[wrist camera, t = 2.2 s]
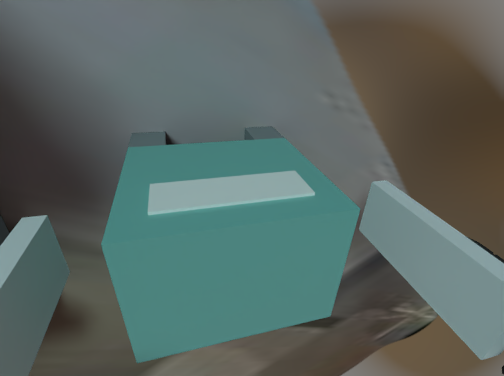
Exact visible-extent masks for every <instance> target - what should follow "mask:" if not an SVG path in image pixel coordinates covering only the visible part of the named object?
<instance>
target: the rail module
mask: <svg viewBox="0 0 504 376" xmlns="http://www.w3.org/2000/svg"><path fill="white" fill-rule="evenodd" d="M359 213H360V208H359V207H358V206H357V205H356V204H355V203H354V202H353V201H351V200H350V199H349V198H348V197H347V196H346V195H345V194H344V193H343V192H342V191H341V190H340V189H339V188H338V187H336V186H335V185H334V184H333V183H332V182H331V181H330V180H329V179H328V178H327V177H326V176H325V175H324V174H323V173H321V172H320V171H319V170H318V169H317V168H316V167H315V166H314V165H313V164H312V163H311V162H310V161H309V160H308V159H306V158H305V157H304V156H303V155H302V154H301V153H300V152H299V151H298V150H297V149H296V148H295V147H294V146H293V145H291V144H290V143H289V142H288V141H287V140H286V139H285V138H284V137H283V136H282V135H281V134H280V133H279V132H277V131H276V130H275V129H274V128H273V127H251V128H245V140H241V141H225V142H208V143H192V144H175V145H167V143H166V135H165V132H149V133H132V135H131V139H130V143H129V146H128V150H127V153H126V157H125V161H124V164H123V168H122V172H121V175H120V179H119V182H118V186H117V190H116V193H115V197H114V200H113V204H112V208H111V211H110V215H109V218H108V222H107V226H106V229H105V233H104V237H103V240H102V244H101V246H102V250H103V253H104V256H105V259H106V263H107V266H108V269H109V273H110V276H111V279H112V282H113V286H114V289H115V292H116V296H117V299H118V302H119V306H120V309H121V312H122V315H123V319H124V322H125V325H126V329H127V332H128V335H129V338H130V342H131V345H132V348H133V352H134V355H135V358H136V361H137V363H140V362H145V361H149V360H153V359H157V358H161V357H165V356H169V355H173V354H177V353H181V352H186V351H190V350H194V349H198V348H202V347H206V346H210V345H214V344H218V343H223V342H227V341H231V340H235V339H239V338H243V337H247V336H251V335H255V334H260V333H264V332H268V331H272V330H276V329H280V328H284V327H288V326H292V325H296V324H301V323H305V322H309V321H313V320H317V319H321V318H325V317H329V316H331V312H332V309H333V305H334V302H335V298H336V294H337V291H338V287H339V284H340V280H341V277H342V273H343V270H344V266H345V262H346V259H347V255H348V252H349V248H350V245H351V241H352V237H353V234H354V230H355V227H356V223H357V220H358V216H359Z"/></svg>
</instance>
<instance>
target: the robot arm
mask: <svg viewBox="0 0 504 376" xmlns="http://www.w3.org/2000/svg"><path fill="white" fill-rule="evenodd" d="M359 230H360V231H361V233H362V234H363V235H364V236H365V237H366V238H367V239H368V240H369V241H370V242H371V243H372V244H373V245H374V246H375V247H376V249H377V250H378V251H379V252H380V253H381V254H382V255H383V256H384V257H385V258H386V259H387V260H388V261H389V262H390V263H391V265H392V266H393V267H394V268H395V269H396V270H397V271H398V272H399V273H400V274H401V275H402V276H403V277H404V278H405V279H406V281H407V282H408V283H409V284H410V285H411V286H412V287H413V288H414V289H415V290H416V291H417V292H418V293H419V294H420V295H421V296H422V298H423V299H424V300H425V301H426V302H427V303H428V304H429V305H430V306H431V307H432V308H433V309H434V310H435V311H436V312H437V314H438V315H439V316H440V317H441V318H442V319H443V320H444V321H445V322H446V323H447V324H448V325H449V326H450V327H451V328H452V330H454V332H455V333H456V334H457V335H458V336H459V337H460V338H461V339H462V340H463V341H464V342H465V343H466V344H467V346H468V347H469V348H470V349H471V350H472V351H473V352H474V353H475V354H476V355H477V356H478V357H479V358H480V359H481V360H483V359H487V358H490V357H493V356H496V355H499V354H501V352H502V351H503V350H504V260H503V259H502V258H500V257H499V256H497V255H494V254H493V252H492V251H490V250H489V249H487V248H486V247H485V246H483V245H482V244H480V243H479V242H477V241H474V240H472V239H470V238H468V237H466V236H464V235H463V234H461V233H460V232H458V231H457V230H456V229H454V228H453V227H451V226H450V225H449V224H447V223H446V222H444V221H443V220H442V219H440V218H439V217H437V216H436V215H434V214H433V213H431V212H430V211H429V210H427V209H426V208H424V207H423V206H421V205H420V204H419V203H417V202H416V201H415V200H413V199H412V198H410V197H409V196H408V195H406V194H405V193H403V192H402V191H400V190H399V189H398V188H396V187H395V186H393V185H392V184H391V183H389V182H388V181H377V182H372V184H371V188H370V191H369V195H368V198H367V202H366V205H365V209H364V213H363V216H362V220H361V223H360V227H359ZM69 273H70V271H69V268H68V266H67V263H66V261H65V258H64V256H63V253H62V251H61V248H60V246H59V243H58V241H57V238H56V236H55V233H54V230H53V228H52V225H51V223H50V220H49V218H48V215H44V216H34V217H24V218H21V220H20V221H19V222H18V224H17V225H16V226H15V227H14V229H13V230H12V231H11V233H10V234H9V235H8V237H7V238H6V239H5V240H4V242H3V243H2V244H1V246H0V376H28V375H29V373H30V370H31V368H32V365H33V363H34V360H35V358H36V355H37V353H38V350H39V348H40V345H41V343H42V340H43V338H44V336H45V333H46V331H47V328H48V326H49V323H50V321H51V318H52V316H53V313H54V311H55V308H56V306H57V303H58V301H59V298H60V296H61V293H62V291H63V288H64V286H65V283H66V281H67V278H68V276H69ZM502 373H503V374H504V366H503V367H502Z"/></svg>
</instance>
